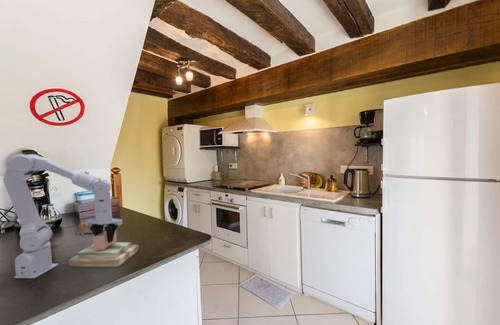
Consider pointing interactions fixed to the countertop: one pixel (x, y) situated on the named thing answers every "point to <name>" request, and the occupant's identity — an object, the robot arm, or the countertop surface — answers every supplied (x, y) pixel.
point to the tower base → (104, 260)
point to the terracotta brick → (102, 240)
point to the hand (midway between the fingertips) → (105, 241)
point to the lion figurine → (83, 227)
